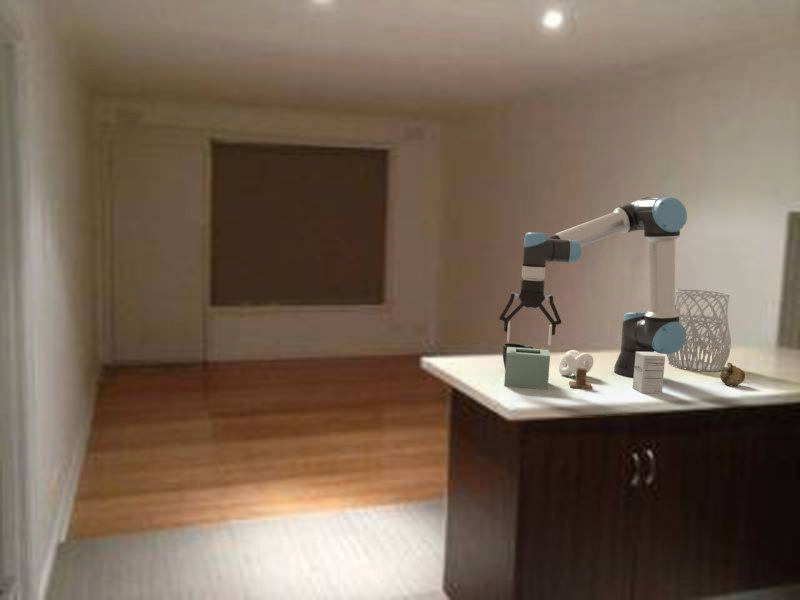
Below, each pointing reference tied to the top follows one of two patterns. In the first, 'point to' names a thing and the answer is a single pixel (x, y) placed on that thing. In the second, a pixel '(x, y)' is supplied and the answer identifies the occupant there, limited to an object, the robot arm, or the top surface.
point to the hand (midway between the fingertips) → (528, 343)
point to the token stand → (580, 380)
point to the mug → (511, 346)
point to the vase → (719, 358)
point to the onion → (732, 375)
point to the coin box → (527, 368)
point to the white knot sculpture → (575, 362)
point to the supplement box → (648, 372)
